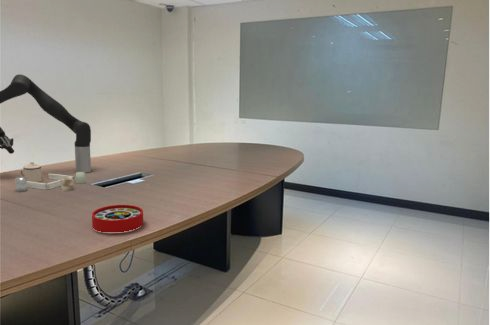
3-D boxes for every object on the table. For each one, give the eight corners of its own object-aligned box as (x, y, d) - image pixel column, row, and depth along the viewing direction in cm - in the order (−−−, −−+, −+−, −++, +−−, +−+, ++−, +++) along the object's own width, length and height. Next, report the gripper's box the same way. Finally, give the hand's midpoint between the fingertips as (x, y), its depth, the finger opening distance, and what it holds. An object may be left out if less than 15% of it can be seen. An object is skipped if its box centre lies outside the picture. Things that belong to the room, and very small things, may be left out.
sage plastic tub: (85, 181, 216) (85, 171, 215) (85, 183, 211) (84, 173, 210) (76, 181, 214) (75, 172, 213) (75, 183, 209) (75, 173, 208)
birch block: (70, 187, 201) (70, 177, 200) (73, 189, 197) (72, 179, 196) (61, 189, 198) (60, 178, 197) (63, 191, 194) (63, 180, 193)
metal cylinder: (28, 189, 195) (27, 176, 193) (26, 191, 190) (25, 178, 189) (17, 189, 193) (16, 177, 192) (15, 192, 188) (14, 179, 187)
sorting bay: (21, 186, 199) (20, 181, 199) (50, 178, 219) (50, 173, 218) (47, 189, 195) (46, 184, 194) (74, 181, 215) (74, 176, 214)
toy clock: (133, 202, 163) (150, 215, 147) (133, 214, 164) (150, 228, 148) (86, 209, 151) (99, 224, 135) (86, 222, 152) (100, 238, 136)
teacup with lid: (45, 180, 214) (44, 161, 212) (36, 184, 205) (34, 164, 203) (26, 179, 215) (24, 160, 213) (15, 182, 206) (14, 162, 204)
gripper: (0, 133, 218) (18, 155, 217) (-20, 135, 205) (-2, 158, 205) (7, 125, 216) (25, 147, 215) (-14, 127, 203) (5, 150, 202)
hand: (12, 152), depth 210 cm, fingers closed
